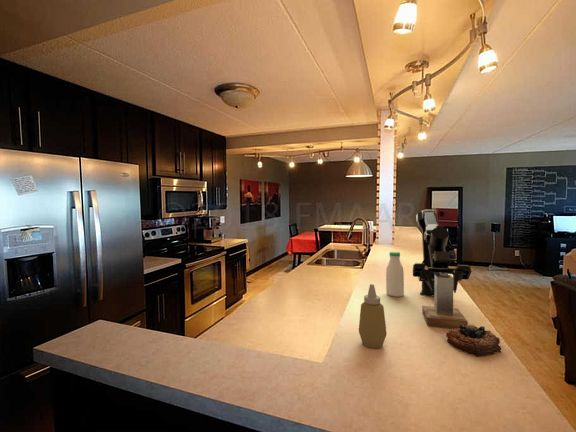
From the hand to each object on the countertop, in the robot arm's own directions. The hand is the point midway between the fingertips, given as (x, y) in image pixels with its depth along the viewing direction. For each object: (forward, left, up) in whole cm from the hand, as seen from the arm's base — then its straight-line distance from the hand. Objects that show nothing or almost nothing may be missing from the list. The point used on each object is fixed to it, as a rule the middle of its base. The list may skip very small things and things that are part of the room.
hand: (444, 291), depth 98 cm
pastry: (+14, +9, -11) cm, 20 cm away
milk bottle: (-24, -22, -11) cm, 35 cm away
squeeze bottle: (+29, -16, -11) cm, 35 cm away
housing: (-1, 0, -8) cm, 8 cm away
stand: (-1, 0, -11) cm, 11 cm away
